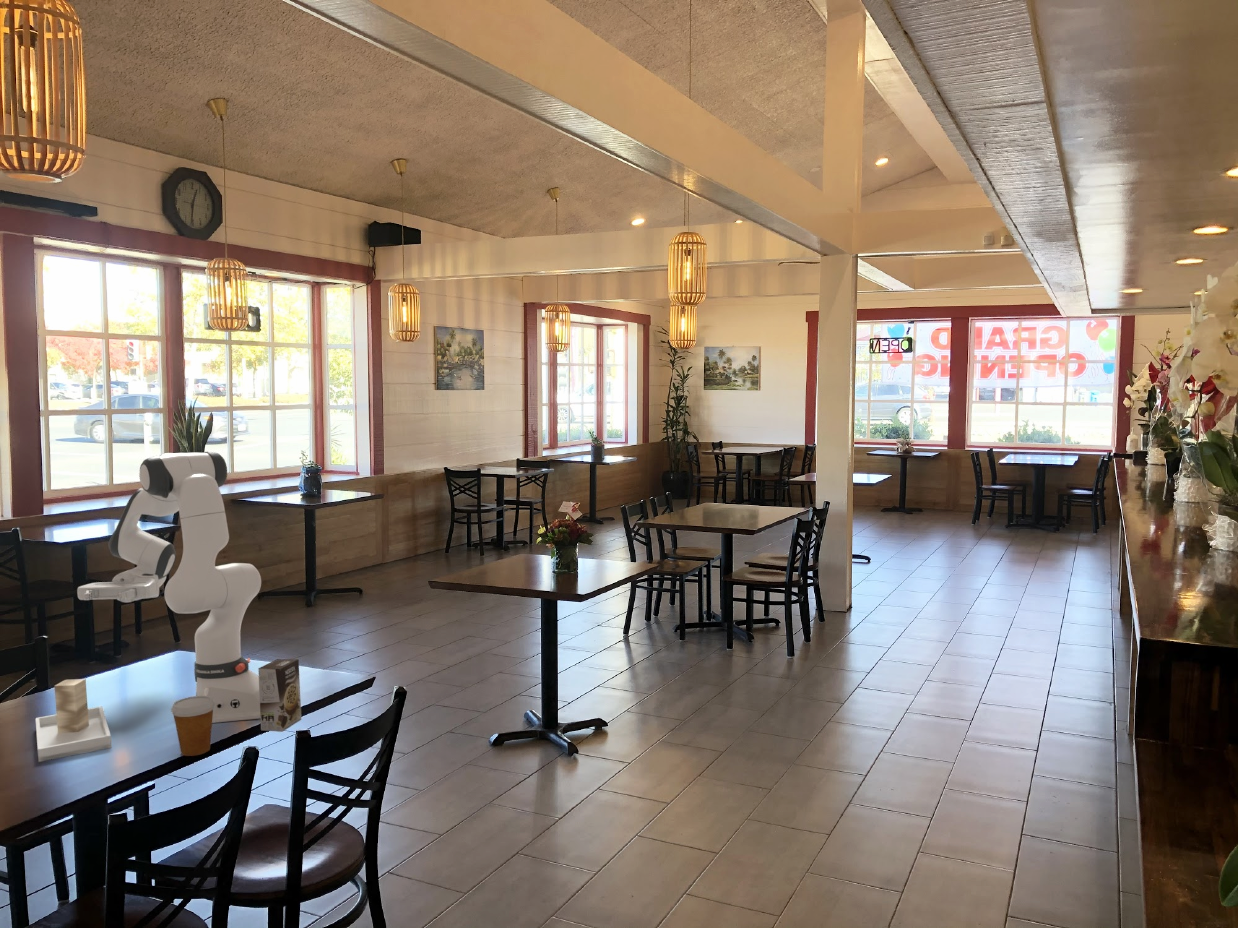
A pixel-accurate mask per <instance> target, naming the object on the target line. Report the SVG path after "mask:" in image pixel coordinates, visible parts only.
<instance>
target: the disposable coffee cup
mask: <svg viewBox="0 0 1238 928" xmlns="http://www.w3.org/2000/svg"><path fill="white" fill-rule="evenodd" d="M214 706H215V703H214V702H213V699H212V698H211V697H209V696H196V695H195V696H190V697H184V698H180V699H179V700H176V701H174V702H173V703H172V708H171V709H170V712H171V714H172V715H173V718H174V719H173V720H174V724H175V728H176V734H177V739H178V743H179V749H180V754H181V755H182V756H185V757H190V756H191V757H194V756H199V755H203V754H205V753H207V752H209V751H210V750H211V743H212V742H211V740H212V730H213V729H212V728H213V723H212V717H213V709H214Z"/></svg>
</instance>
